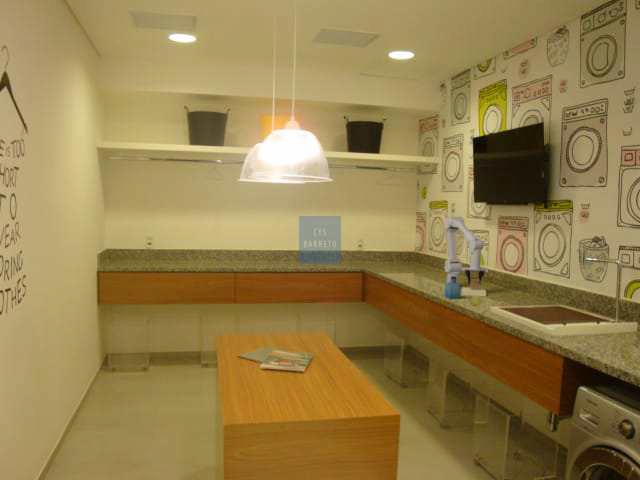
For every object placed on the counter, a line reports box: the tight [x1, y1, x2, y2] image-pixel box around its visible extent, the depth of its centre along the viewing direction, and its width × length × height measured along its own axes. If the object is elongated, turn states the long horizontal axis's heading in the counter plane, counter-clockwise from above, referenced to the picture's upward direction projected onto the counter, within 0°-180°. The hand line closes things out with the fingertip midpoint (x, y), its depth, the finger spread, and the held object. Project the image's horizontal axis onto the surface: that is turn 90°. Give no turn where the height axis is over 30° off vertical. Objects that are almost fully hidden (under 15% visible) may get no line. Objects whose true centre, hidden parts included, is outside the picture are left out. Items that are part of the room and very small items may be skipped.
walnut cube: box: [468, 277, 480, 288], centre depth 303 cm, size 5×5×5 cm
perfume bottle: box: [444, 276, 462, 300], centre depth 288 cm, size 6×6×12 cm
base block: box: [461, 286, 487, 297], centre depth 304 cm, size 12×12×3 cm
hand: (474, 283), depth 303 cm, fingers closed on walnut cube, 5 cm apart
